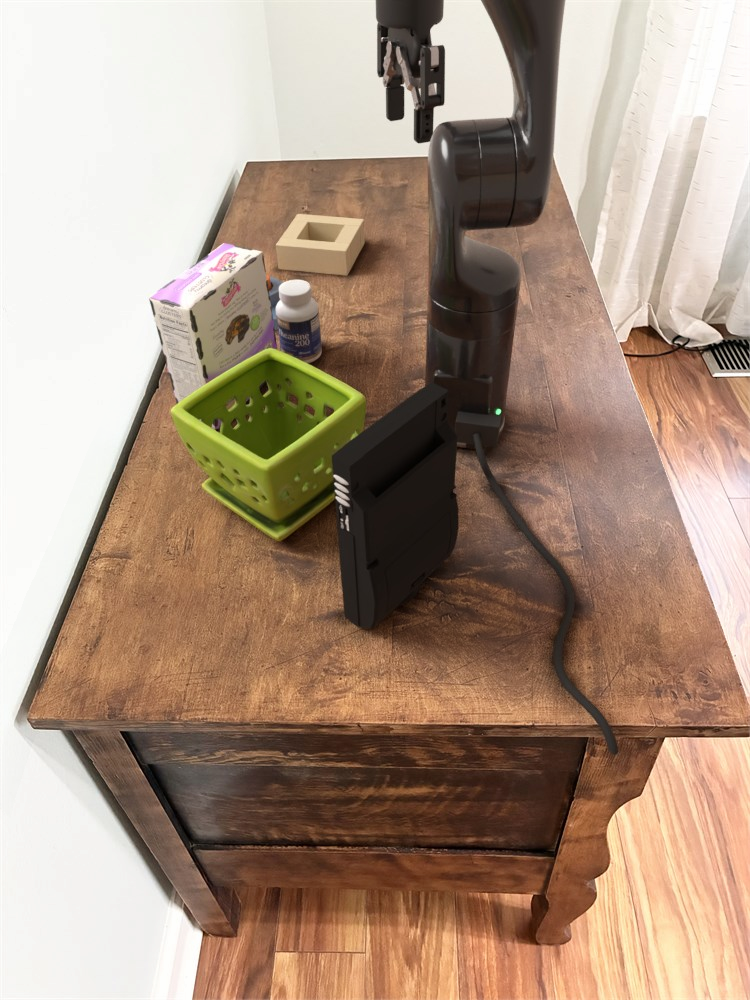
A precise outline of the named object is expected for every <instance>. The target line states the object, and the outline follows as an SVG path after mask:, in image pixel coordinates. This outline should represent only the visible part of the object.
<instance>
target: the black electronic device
mask: <svg viewBox="0 0 750 1000" xmlns="http://www.w3.org/2000/svg"><path fill="white" fill-rule="evenodd" d="M448 395H449V390H447V389H445V388H443V387H441V386H439V385H437V384H435V383H433V382H431V383H429V384H428V385H426V386H425V385H424V386H423V387H421V388H420V389H419V390H417V391H415V392H414V393H413V394H411V395H410V396H409V397H407V398H406V399H405V400H403V401H402V402H401V403H399V404H398V405H396V406H395V407H394V408H392V409H391V410H390V411H389V412H387V413H385V414H384V415H383V416H382V417H380V418H379V419H378V420H376V421H375V422H373V423H372V424H371V425H369V426H368V427H366V429H363V432H361V433H360V434H359V435H357V436H356V437H355V438H353V439H352V440H351V441H349V442H348V443H347V444H345V445H344V446H343V447H342V448H340V449H339V450H338V451H337V452H336V453H334V454H333V455H332V467H333V479H334V492H335V500H334V503H335V516H336V526H337V527H336V528H337V529H336V530H337V538H338V552H339V565H340V566H339V568H340V582H341V590H342V593H341V594H342V602H343V613H344V619H347V620H348V621H349V622H350V623H352V624H353V625H355V626H356V627H357V628H362V629H363V630H373V629H374V630H375V628H377V626H378V625H380V623H382V621H384V620H385V618H387V616H389V615H390V614H391V613H392V612H393V611H394V610H395V609H396V608H398V607H400V606H402V605H404V604H406V603H408V602H410V601H411V600H412V599H414V598H415V597H416V595H417V594H418V593H419V590H420V588H421V586H422V585H423V583H424V581H425V580H426V579H427V578H428V577H429V576H430V575H432V573H434V571H436V570H437V569H438V568H439V567H440V566H441V565H442V564H443V563H445V562H446V560H447V559H448V558H449V557H451V555H452V553H453V551H454V549H455V548H456V547H455V546H456V543H457V539H458V534H459V528H460V524H459V521H460V520H459V505H458V499H457V496H458V494H457V493H456V492H455V489H456V488H457V487H456V485H455V484H456V483H455V481H456V468H457V467H456V465H457V452H458V451H457V450H458V447H457V434H456V433H455V432H454V430H453V429H452V428H451V426H450V425H449V424H448V422H447V421H446V419H447V409H448V403H447V398H448Z"/></svg>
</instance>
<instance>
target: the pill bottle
mask: <svg viewBox="0 0 750 1000" xmlns="http://www.w3.org/2000/svg"><path fill="white" fill-rule="evenodd" d="M283 282H284V283H282V284H281V285H280V286H279V298H280V301H279V302H278V303H277V305H276V317H277V324H278V330H277V331H278V338H279V339H278V340H279V346H280V351H281V352H284V353H286V354H288V355H291V356H293V357H295V358H297V359H299V360H301V361H303V362H305V363H307V364H311V363H313V362H315V361H317V360H318V359H319V358H320V357H321V355H322V351H323V348H322V346H323V345H322V335H321V323H320V311H319V310H320V309H319V305H318V304H319V303H318V302H317V300H315V298H313V292H312V287H311V284H310V283H309V282H308V281H306V280H303V279H289V280H286V281H283Z"/></svg>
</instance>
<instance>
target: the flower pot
mask: <svg viewBox="0 0 750 1000" xmlns="http://www.w3.org/2000/svg"><path fill="white" fill-rule="evenodd" d="M264 381H266V385H267V387H268V390H267V391H266V392H265V393H264V394H263V395H262V392H261V390H260V389H261V388H260V389H259V386H260V385H261V384H262V383H263V382H264ZM310 394H311V396H310ZM290 395H292V396H294V397H295V398H297V404H295V403H293V402H292V401H291V400H290ZM233 397H234V400H235V405H234V406H232V407H231V408H230V409H229V410H227V408H226V403H227V402H228V401H229V400H230V399H231V398H233ZM249 397H250V399H249V403H248V404H247V402H246V400H247V398H249ZM282 405H283V407H282ZM307 406H308V407H310V408H312V409H313V410H314V412H313V413H314V414H311V413H310V412H308V411H307V408H308V407H307ZM327 407H328V408H330V409H332V410H333V412H332V414H330V415H329V416H327ZM366 414H367V398H366V396H365V395H364V394H363V393H361V392H360V391H358V390H357V389H355V387H352V386H351V385H349V384H347V383H346V382H343V381H342V380H340V379H338V378H337V377H334V376H333V375H331V374H329V373H326V372H324V371H323V370H322V369H319V368H317V367H315V366H314V365H312V364H310V363H308V364H307V363H305V362H303V361H301V360H299V359H297V358H295V357H293V356H291V355H288V354H286V353H284V352H281V350H280V349H277V350H276V349H273V348H268V349H265V350H263V351H261V352H259V353H257V354H256V355H254V356H252V357H250V358H248V359H246V360H245V361H243V362H241V363H239V364H238V365H236V366H234V367H233V368H231V369H229V370H228V371H226V372H224V373H223V374H221V375H219V376H218V377H216V378H215V379H213V380H211V381H210V382H208V383H207V384H205V385H204V386H202V387H201V388H199V389H198V390H196V391H195V392H193V393H192V394H190V395H189V396H187V397H186V398H185V399H183V400H182V401H180V402H179V403H178V404H177V403H176V404H175V405H174V406H173V407H171V409H170V416H171V418H172V421H173V423H174V426H175V428H176V430H177V433H178V435H179V437H180V439H181V441H182V443H183V445H184V446H185V449H186V450H187V452H188V453H189V454H190V456H191V457H192V459H193V460H194V461H195V462H196V464H197V465H198V466H199V467H200V468H201V470H202V471H203V472H204V473H205V474H206V475H207V476H208V477H209V478H207V479H206V480H205V481H203V482H202V483H201V488H202V490H203V491H204V492H206V493H207V494H208V495H209V496H211V497H212V498H214V499H215V500H216V501H218V502H219V503H221V504H222V505H223V506H224V507H226V508H227V509H229V510H231V511H232V512H233V513H235V514H236V515H238V516H239V517H241V518H242V519H244V520H245V521H247V523H249V524H251V525H252V526H253V527H255V528H257V530H259V531H260V532H262V533H264V534H265V535H267V536H268V537H269V538H271V539H273V540H275V541H276V542H281V541H283V540H285V539H286V538H288V537H289V536H290V535H291V534H293V533H295V531H297V530H298V529H299V528H301V527H302V526H303V525H305V524H306V523H307V522H309V521H310V520H311V519H312V518H314V517H316V515H317V514H319V513H320V512H321V511H322V510H324V509H325V508H326V507H328V506H329V505H330V504H331V503H333V502H335V492H334V479H333V467H332V455H333V454H334V453H336V452H337V451H338V450H339V449H340V448H342V447H343V446H344V445H345V444H347V443H348V442H349V441H351V440H352V439H353V438H355V437H356V436H357V435H359V434H360V433H361V432H363V431H364V427H365V420H366ZM247 415H249V418H248V420H247ZM300 417H301V419H300ZM200 419H201V421H200ZM214 419H220V420H221V427H220V428H219V431H217V429H216V430H214V429H212V428H211V427H212V424H213V421H214ZM234 420H236V422H237V423H236V425H235V426H234V427H233V426H232V422H233V421H234Z"/></svg>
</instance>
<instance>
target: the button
mask: <svg viewBox="0 0 750 1000" xmlns="http://www.w3.org/2000/svg"><path fill="white" fill-rule="evenodd" d="M266 276H267V282H268V289H269V290H271V281H270V276H271V275H269V273H267V272H266Z"/></svg>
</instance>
